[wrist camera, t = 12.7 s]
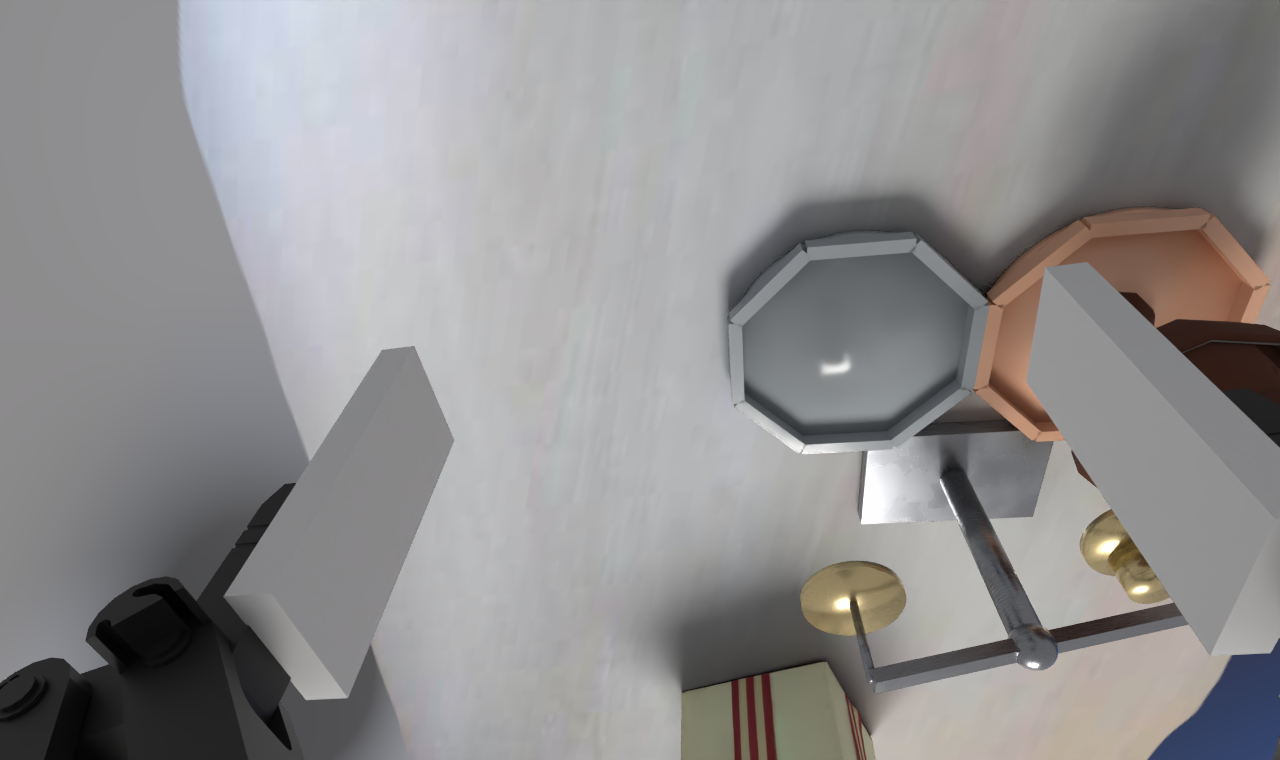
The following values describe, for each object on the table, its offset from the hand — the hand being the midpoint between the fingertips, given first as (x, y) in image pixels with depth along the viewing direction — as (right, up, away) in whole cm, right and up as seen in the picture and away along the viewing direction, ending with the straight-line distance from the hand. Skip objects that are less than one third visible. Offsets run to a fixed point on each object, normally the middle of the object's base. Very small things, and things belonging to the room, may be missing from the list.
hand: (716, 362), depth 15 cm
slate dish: (+12, +2, +29) cm, 32 cm away
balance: (+20, -7, +35) cm, 41 cm away
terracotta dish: (+26, +3, +28) cm, 39 cm away
